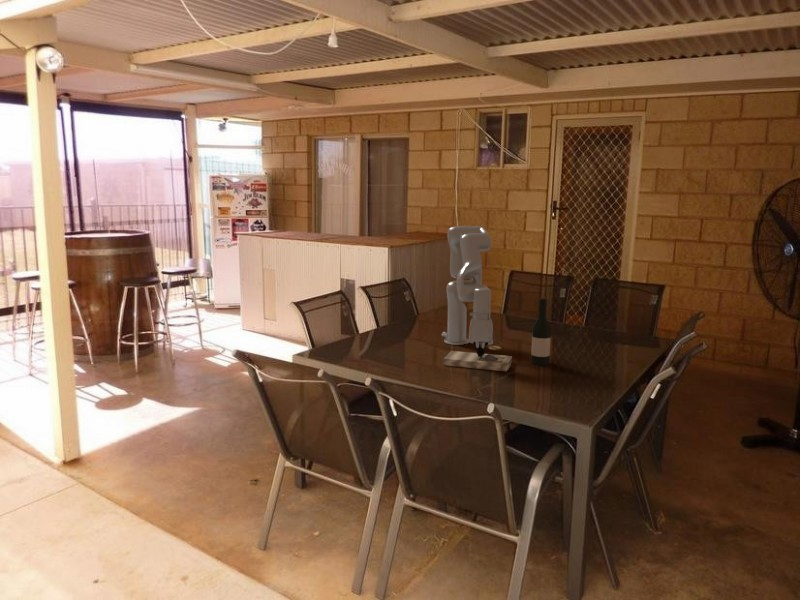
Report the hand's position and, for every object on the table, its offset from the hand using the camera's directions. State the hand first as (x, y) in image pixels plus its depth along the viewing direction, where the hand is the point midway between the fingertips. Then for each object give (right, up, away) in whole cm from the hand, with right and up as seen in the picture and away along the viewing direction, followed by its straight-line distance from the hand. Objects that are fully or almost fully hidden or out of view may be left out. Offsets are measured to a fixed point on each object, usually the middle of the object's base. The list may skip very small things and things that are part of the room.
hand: (480, 356), depth 270 cm
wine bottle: (+27, -4, +2) cm, 27 cm away
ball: (+4, -1, -1) cm, 4 cm away
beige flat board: (-1, -4, +1) cm, 4 cm away
